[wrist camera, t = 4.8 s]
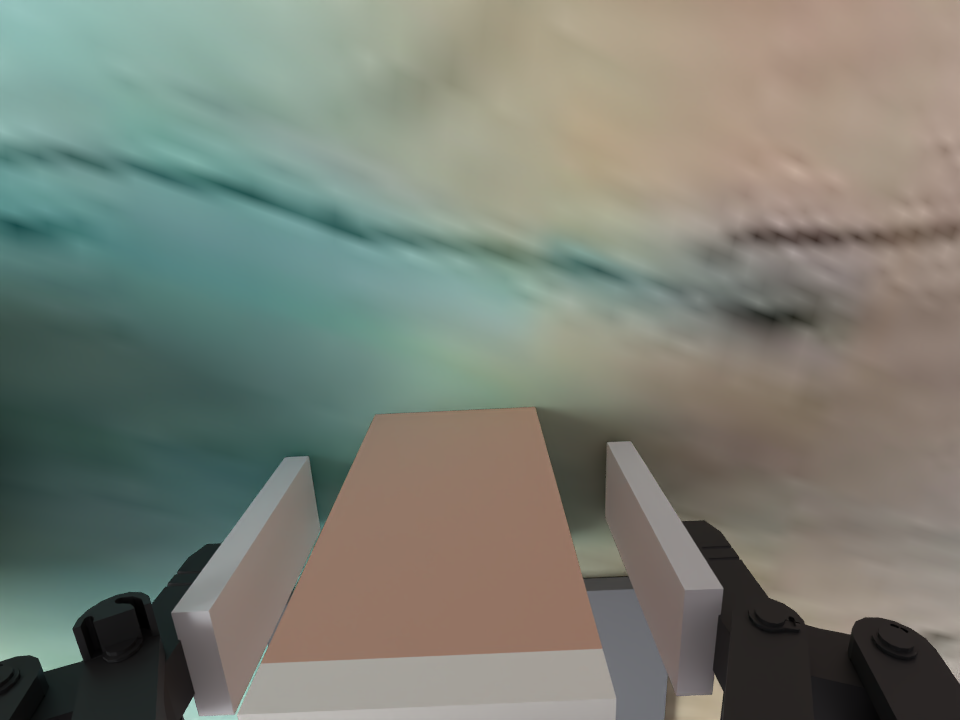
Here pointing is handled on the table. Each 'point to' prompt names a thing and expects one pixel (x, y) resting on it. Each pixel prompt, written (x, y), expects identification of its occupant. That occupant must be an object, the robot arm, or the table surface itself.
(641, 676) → the mat
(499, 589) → the block
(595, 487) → the table surface
